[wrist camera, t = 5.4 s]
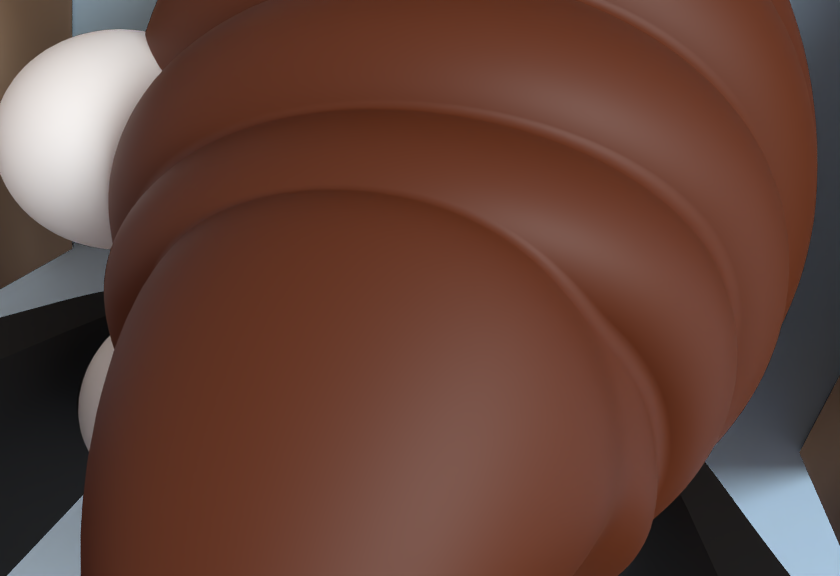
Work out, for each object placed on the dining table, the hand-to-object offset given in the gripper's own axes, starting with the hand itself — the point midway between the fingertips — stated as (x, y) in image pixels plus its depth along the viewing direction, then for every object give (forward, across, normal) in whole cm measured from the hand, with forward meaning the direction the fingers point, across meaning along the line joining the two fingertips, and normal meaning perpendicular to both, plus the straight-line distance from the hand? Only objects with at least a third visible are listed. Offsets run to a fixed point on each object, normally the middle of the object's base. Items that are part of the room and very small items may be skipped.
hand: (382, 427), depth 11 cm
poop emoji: (+3, 0, -3) cm, 4 cm away
